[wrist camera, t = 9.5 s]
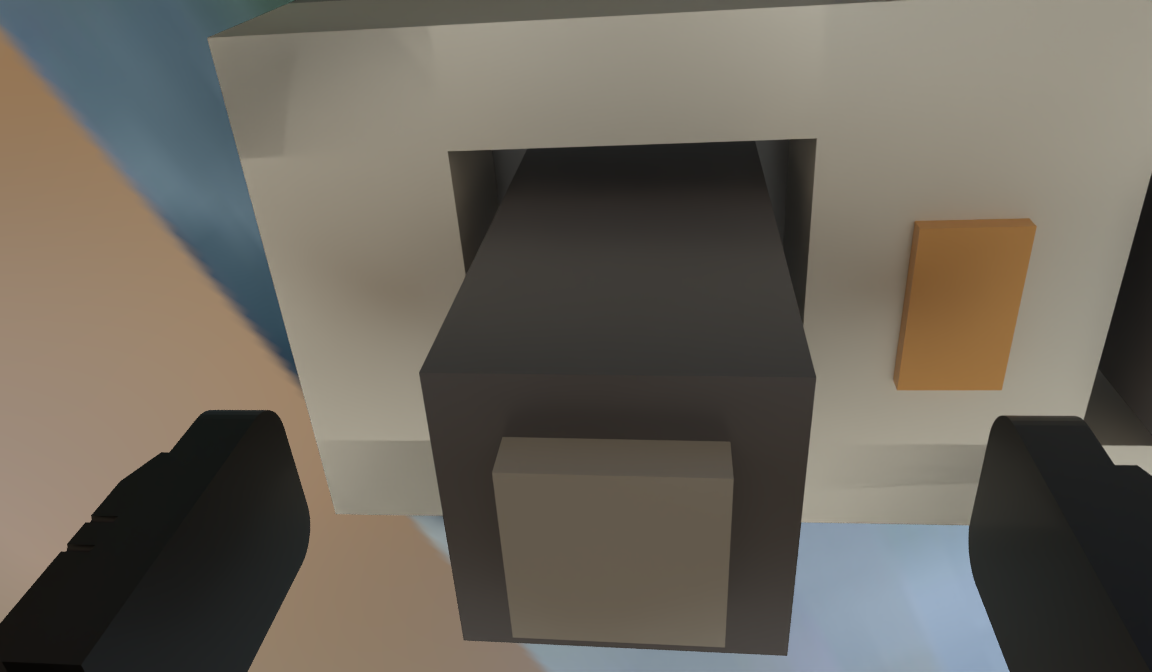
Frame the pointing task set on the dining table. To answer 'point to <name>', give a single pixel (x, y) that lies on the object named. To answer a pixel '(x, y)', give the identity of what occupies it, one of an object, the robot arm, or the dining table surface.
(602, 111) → the strip
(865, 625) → the dining table surface
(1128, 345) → the twin plug
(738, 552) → the plug
